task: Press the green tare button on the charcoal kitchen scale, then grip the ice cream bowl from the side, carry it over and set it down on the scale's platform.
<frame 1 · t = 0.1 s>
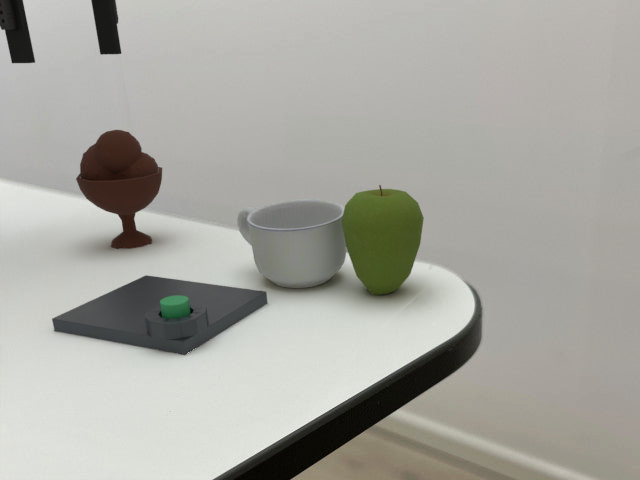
hand: (70, 58, 89), 24 cm above the table, tool pointing down, fingers open, 13 cm apart
tare button: (175, 307, 71), point 3 cm above the table, slide at 0.1 cm
ice cream bowl: (132, 244, 104), on the table
teacup: (292, 278, 88), on the table
apple: (383, 293, 82), on the table
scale: (164, 317, 78), on the table
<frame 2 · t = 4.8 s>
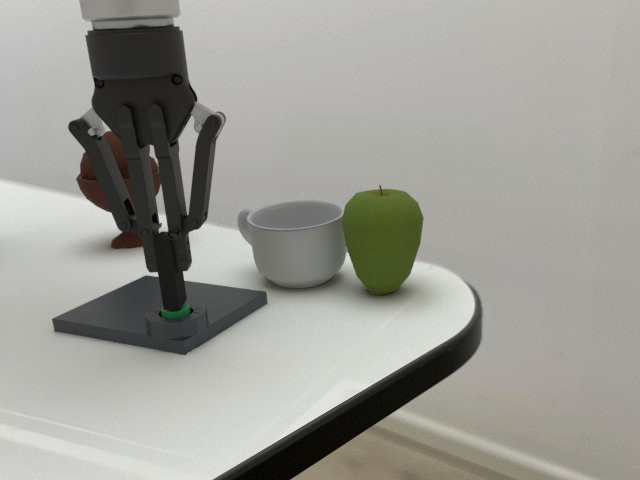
hand: (175, 304, 70), 4 cm above the table, tool pointing down, fingers closed
tare button: (176, 314, 71), point 3 cm above the table, slide at -0.5 cm, touching gripper
everything else where it was.
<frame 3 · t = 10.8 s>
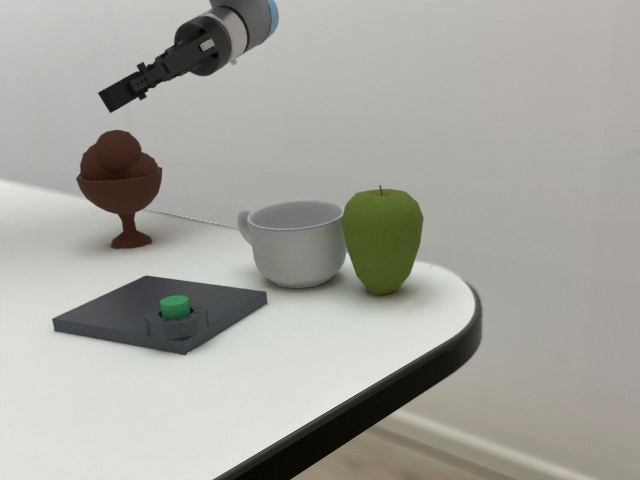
hand: (107, 101, 95), 19 cm above the table, tool horizontal, fingers closed
tare button: (175, 307, 71), point 3 cm above the table, slide at 0.1 cm
everything else where it was.
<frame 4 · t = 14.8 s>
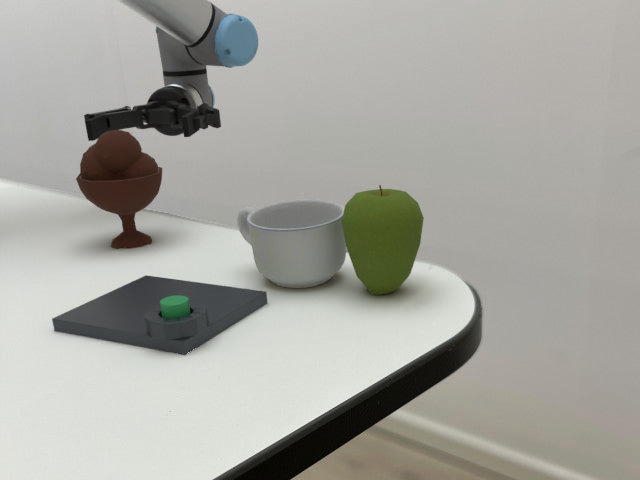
hand: (137, 129, 107), 14 cm above the table, tool horizontal, fingers open, 13 cm apart
nothing on the table moved.
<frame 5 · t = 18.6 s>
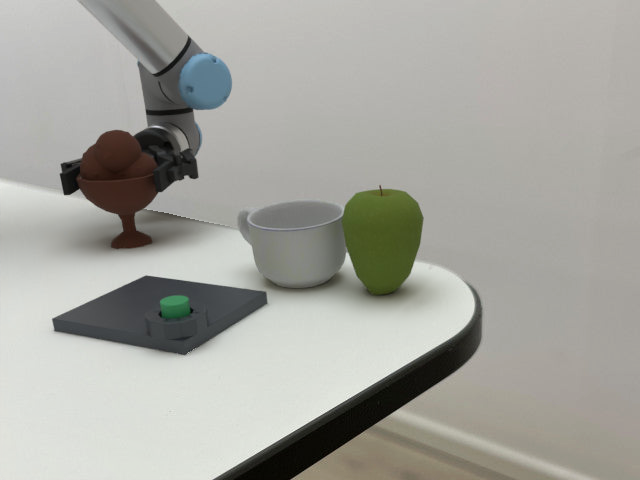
hand: (110, 183, 96), 9 cm above the table, tool horizontal, fingers closed on ice cream bowl, 11 cm apart
ice cream bowl: (132, 244, 104), on the table, touching gripper
everything else where it was.
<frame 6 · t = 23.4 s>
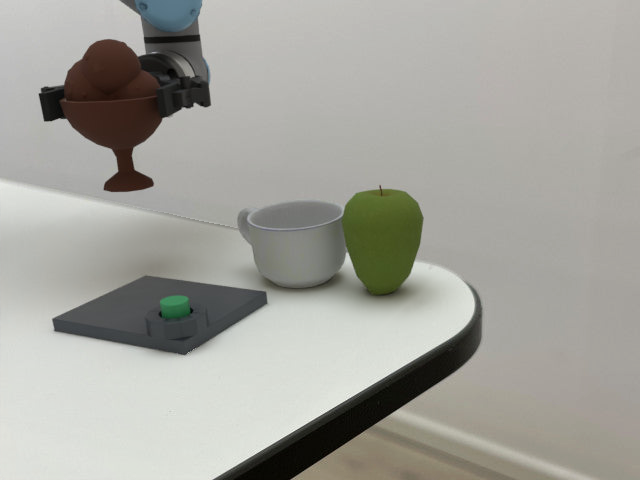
hand: (103, 105, 77), 20 cm above the table, tool horizontal, fingers closed on ice cream bowl, 11 cm apart
ice cream bowl: (129, 188, 84), point 11 cm above the table, touching gripper
everything else where it was.
when the fingers open (10 cm above the table, at t = 28.3 s): ice cream bowl stays where it is, resting on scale.
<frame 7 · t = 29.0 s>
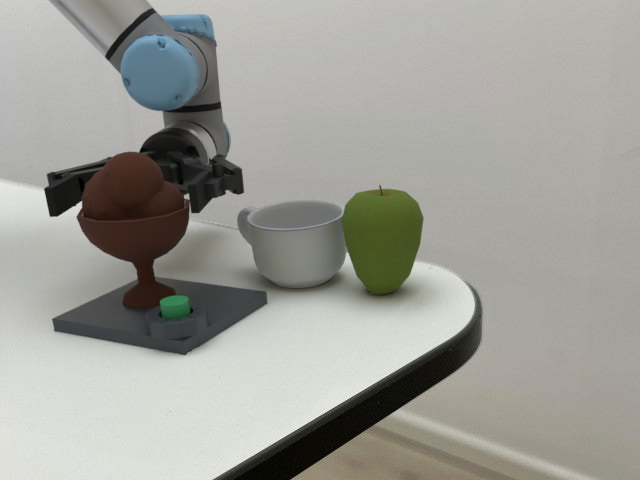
hand: (121, 200, 72), 12 cm above the table, tool horizontal, fingers open, 13 cm apart
ice cream bowl: (149, 300, 79), point 1 cm above the table, touching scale
everything else where it was.
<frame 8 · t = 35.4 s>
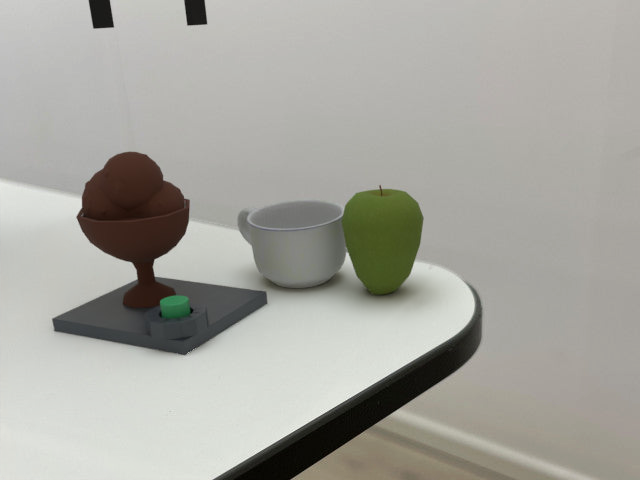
hand: (149, 27, 88), 27 cm above the table, tool pointing down, fingers open, 13 cm apart
nothing on the table moved.
at the end: tare button pushed in 0.6 cm at the most during the clip, back to where it started at the end; ice cream bowl inside the target area on the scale (0.8 cm from its centre), point 1.2 cm above the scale's base; ice cream bowl touching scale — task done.
